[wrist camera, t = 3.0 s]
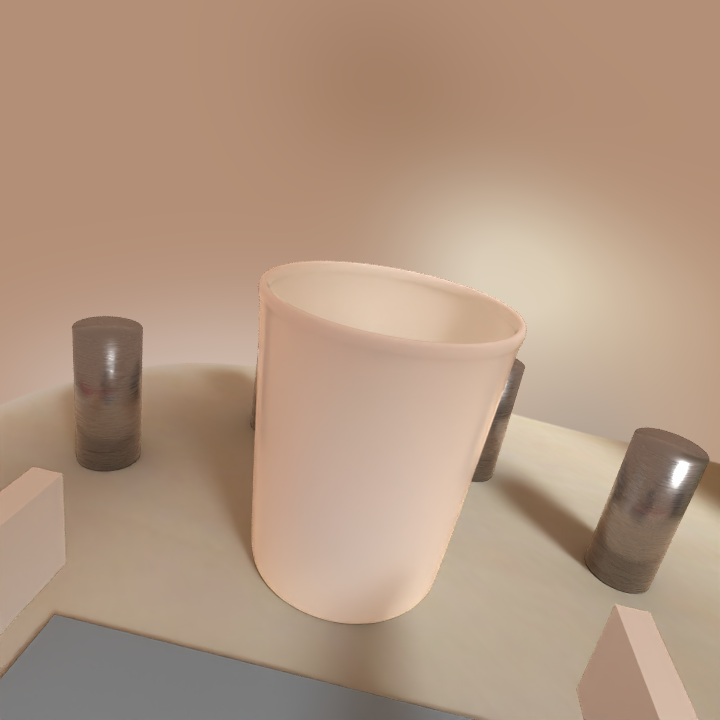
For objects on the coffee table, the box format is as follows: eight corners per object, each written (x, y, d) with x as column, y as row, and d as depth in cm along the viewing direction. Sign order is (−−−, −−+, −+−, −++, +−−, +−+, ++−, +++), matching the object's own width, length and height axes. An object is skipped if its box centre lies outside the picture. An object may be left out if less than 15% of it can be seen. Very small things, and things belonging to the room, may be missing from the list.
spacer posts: (603, 483, 34) (643, 381, 31) (660, 599, 25) (722, 471, 22) (156, 386, 36) (159, 283, 33) (63, 462, 27) (57, 330, 25)
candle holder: (495, 620, 22) (588, 348, 18) (255, 668, 19) (297, 341, 14) (399, 478, 31) (446, 269, 26) (219, 492, 27) (239, 252, 23)
